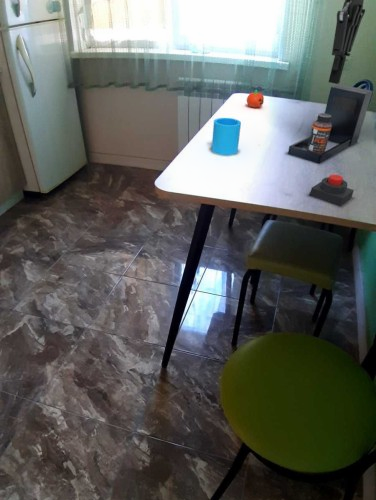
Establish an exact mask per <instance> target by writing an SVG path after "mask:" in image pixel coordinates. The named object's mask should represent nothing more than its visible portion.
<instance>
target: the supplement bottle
mask: <svg viewBox="0 0 376 500" xmlns="http://www.w3.org/2000/svg"><path fill="white" fill-rule="evenodd" d="M330 119H331V115H329V114H325V112H324V113H323V112H321V113H318V114H317V119H316V120H315V121H313V123H312V126H311V130H310V133H309V136H310V138H309V142H308V146H306V150H308V151H311V152H315V153H318V154H322V153H324V152H326V149H327V146H328V142H329V141H328V138H329V135H330V131H331V127H332V125H331V123H330Z"/></svg>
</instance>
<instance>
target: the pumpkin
mask: <svg viewBox="0 0 376 500" xmlns="http://www.w3.org/2000/svg"><path fill="white" fill-rule="evenodd" d="M264 100H265V99H264V95H263V94H262V93H260V92H258V89H255V91H254V92H250V93H249V94H248V96H247V97H246V103H247V105H248V106H249V107H251V108H260V107H262V106H263V104H264V102H265V101H264Z"/></svg>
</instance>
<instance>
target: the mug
mask: <svg viewBox="0 0 376 500" xmlns="http://www.w3.org/2000/svg"><path fill="white" fill-rule="evenodd" d="M241 127H242V122H241V121H240V120H238V119H235V118H232V117H218V118H215V119H214V120H213V128H212V139H211V151H212V152H213V153H215V154H217V155H219V156H221V155H222V156H232V155H236V154H237V153H238V152H239V144H240V143H239V142H240V137H241V136H240V135H241V134H240V133H241Z"/></svg>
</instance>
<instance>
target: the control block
mask: <svg viewBox="0 0 376 500" xmlns="http://www.w3.org/2000/svg"><path fill="white" fill-rule="evenodd" d="M328 179H329V176H328V177H324V178H322V179H321V181H320V182H318V183H316V184H315V185H313V186H312V187H311V189H310V192H309V196H310V197H314V198H316V199H319V200H322V201H325V202H328V203H330V204H333V205H337V206H339V207H341V206H343V205H344V204H345V203H347V202H348V201H349V200H351V199H352V197H353V194H354V191H355V190H354V189H352V188H349V187H348V182H347V181H346V180H345V179H343V181H342V184H341V185H339V186H336V185H331V184H329V183H327V182H328Z"/></svg>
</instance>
